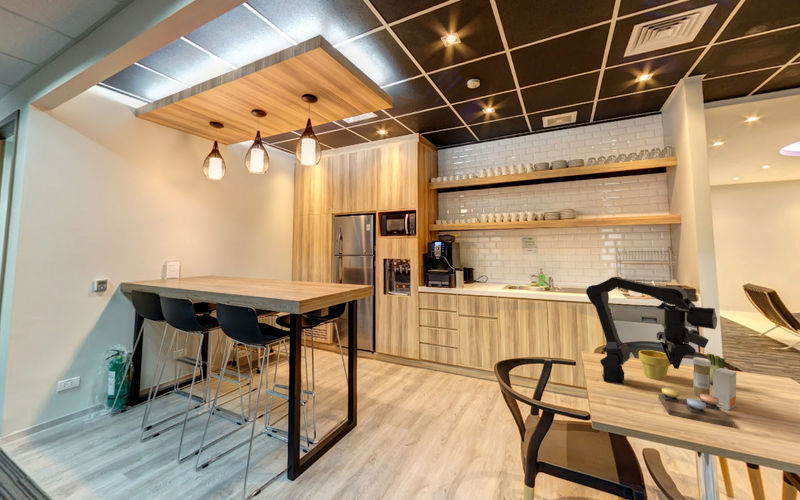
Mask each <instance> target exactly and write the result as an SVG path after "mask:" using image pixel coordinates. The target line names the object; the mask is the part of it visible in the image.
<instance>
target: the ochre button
mask: <svg viewBox="0 0 800 500" xmlns="http://www.w3.org/2000/svg"><path fill="white" fill-rule="evenodd" d="M661 394H665V395H666V396H667V397H669V398H674V397H678V398H680V392H679V390H678V391H677V390H676V389H673V388H669V387H661Z"/></svg>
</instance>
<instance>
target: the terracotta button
mask: <svg viewBox="0 0 800 500" xmlns="http://www.w3.org/2000/svg"><path fill="white" fill-rule="evenodd" d="M699 399H700V400H702V401H704V402H705V403H706V404H708V405H714V404H719V399H718V398H716V397H714V396H713V395H711V394H710V395H707V394H700V397H699Z"/></svg>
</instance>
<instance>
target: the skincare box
mask: <svg viewBox="0 0 800 500" xmlns="http://www.w3.org/2000/svg"><path fill="white" fill-rule="evenodd" d="M712 396H714V397H716V398H718V399H719V404H716V405H717V406H718V407H719V408H720V409H723V410H727V411H729V410H732V409H733V408H735V407H736V404H737V403H736V398H737V371H733V370H730V369H726V368H724V369H723V368H719V369H716V370H714V371H713V385H712Z"/></svg>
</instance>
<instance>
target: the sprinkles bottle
mask: <svg viewBox="0 0 800 500" xmlns="http://www.w3.org/2000/svg"><path fill="white" fill-rule="evenodd" d="M692 363H693V379H692V380H693V392H692V393H693V394H694V396H697V397H699V398H700V394H707V395H711V384H710V366H711V362H710V360H708V359H707V358H703V357H697V356H696V357H693V358H692Z"/></svg>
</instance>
